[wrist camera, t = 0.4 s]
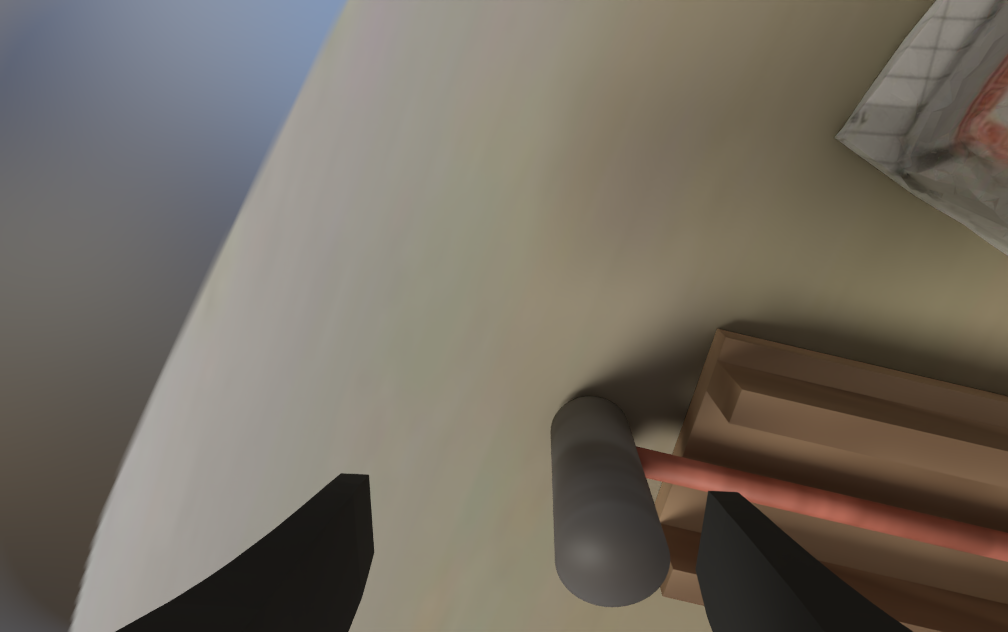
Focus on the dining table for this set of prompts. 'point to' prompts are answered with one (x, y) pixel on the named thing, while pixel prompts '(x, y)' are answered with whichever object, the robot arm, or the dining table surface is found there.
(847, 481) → the lane tray
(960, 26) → the packaged product
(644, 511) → the grey and red rod
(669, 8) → the dining table surface
